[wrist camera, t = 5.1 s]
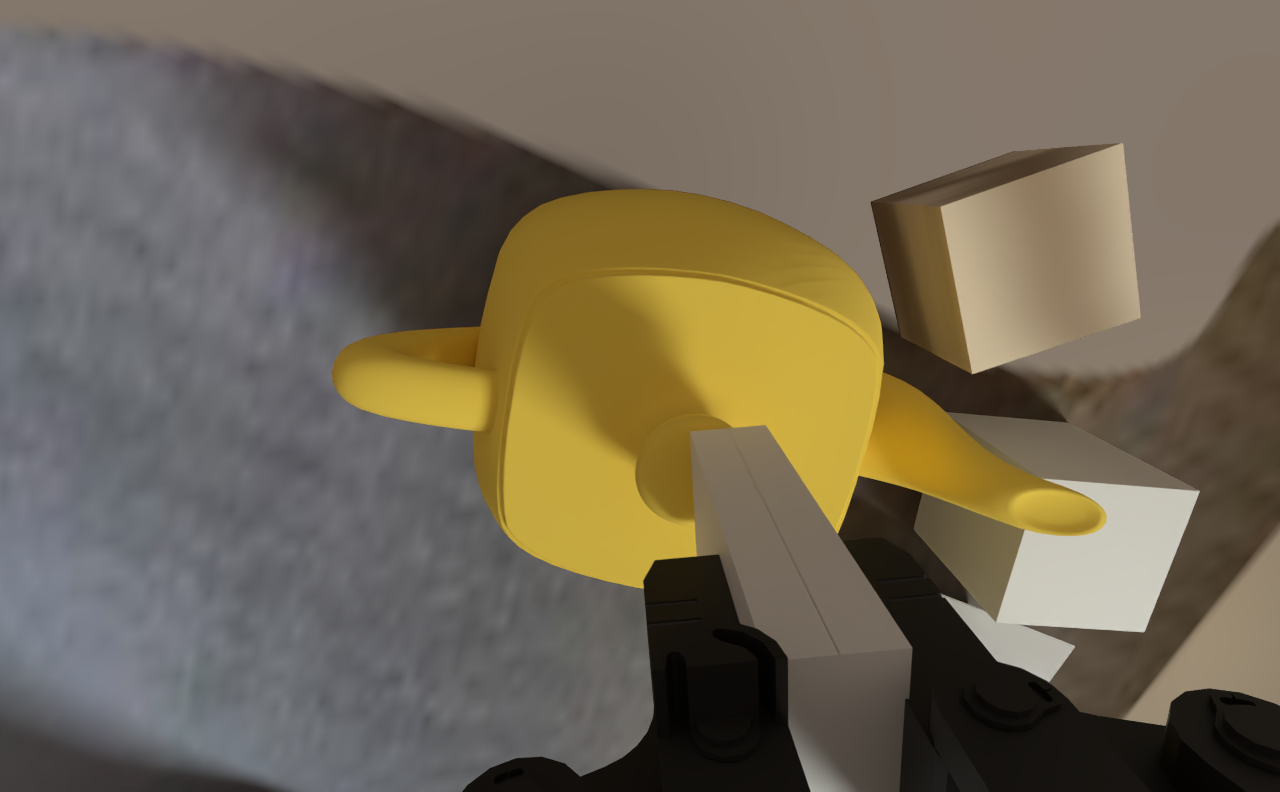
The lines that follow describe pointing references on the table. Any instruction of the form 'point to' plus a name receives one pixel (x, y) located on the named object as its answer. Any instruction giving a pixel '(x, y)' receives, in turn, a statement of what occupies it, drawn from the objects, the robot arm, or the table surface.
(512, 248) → the teapot
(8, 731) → the table surface
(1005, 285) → the beech block
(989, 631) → the figurine
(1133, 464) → the white block
